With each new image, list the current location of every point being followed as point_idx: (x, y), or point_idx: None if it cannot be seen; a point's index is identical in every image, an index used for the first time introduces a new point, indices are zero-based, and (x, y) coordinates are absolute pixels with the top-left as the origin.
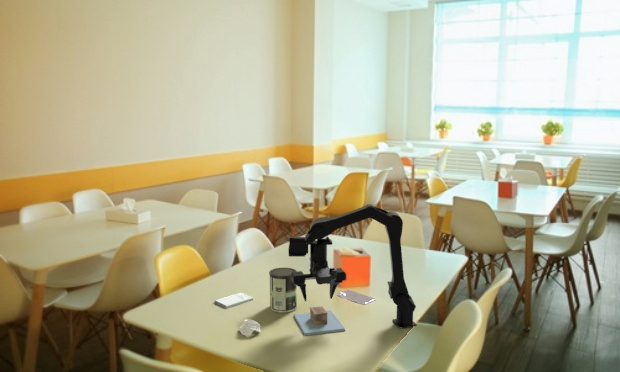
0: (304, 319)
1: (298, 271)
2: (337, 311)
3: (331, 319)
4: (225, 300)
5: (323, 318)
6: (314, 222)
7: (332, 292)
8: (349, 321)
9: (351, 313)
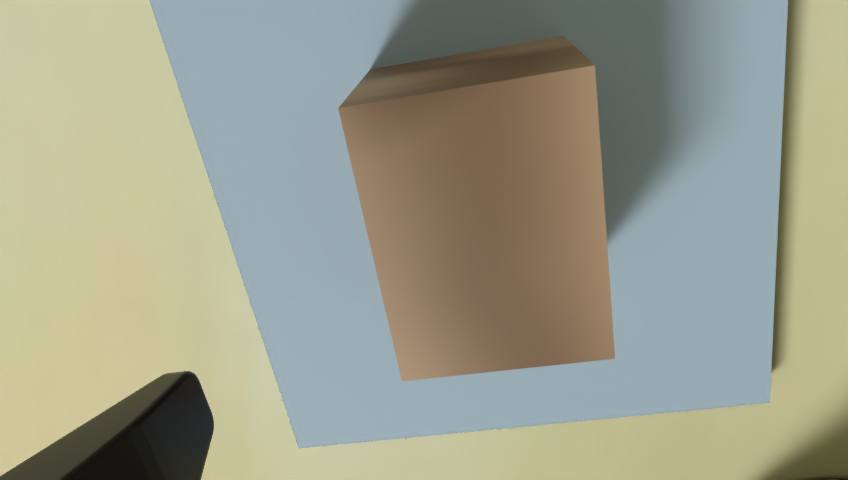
0: (671, 243)
1: None
2: (231, 442)
3: (302, 206)
4: None
5: (421, 76)
6: None
7: (46, 477)
8: (81, 182)
9: (74, 382)
